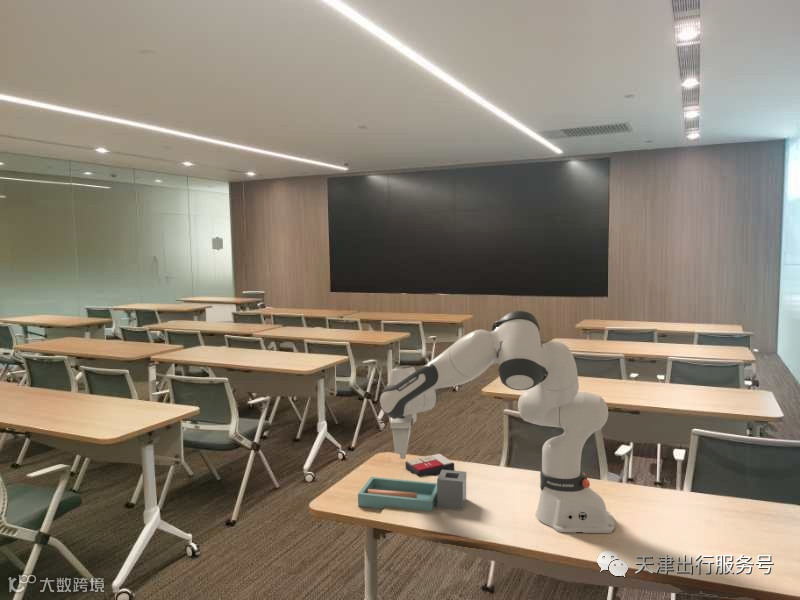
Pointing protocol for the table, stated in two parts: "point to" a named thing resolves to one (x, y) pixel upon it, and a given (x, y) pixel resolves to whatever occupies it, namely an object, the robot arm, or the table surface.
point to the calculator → (429, 465)
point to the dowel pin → (393, 493)
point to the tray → (422, 502)
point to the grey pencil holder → (451, 489)
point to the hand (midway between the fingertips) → (403, 457)
